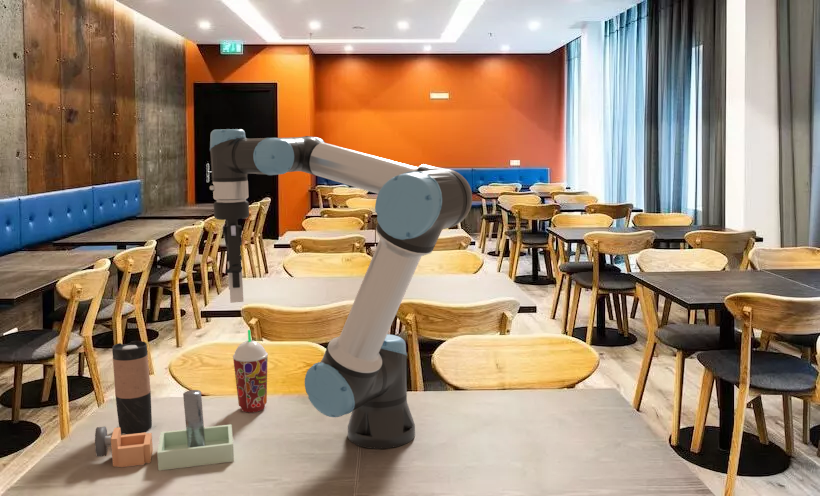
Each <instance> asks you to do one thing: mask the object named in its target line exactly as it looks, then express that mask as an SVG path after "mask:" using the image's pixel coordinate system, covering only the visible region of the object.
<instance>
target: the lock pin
mask: <svg viewBox="0 0 820 496" xmlns="http://www.w3.org/2000/svg"><path fill="white" fill-rule="evenodd" d="M182 397H183V404H184V405H183V406H184V407H183V408H184V415H185V416H184V417H185V419H184V420H185V429H186V432H187V444H188V448H191V447H199V446H205V435H204V425H205V424H204V413H203V401H202V400H203V399H202V391H201V390H198V389H192V390H187V391H185V392H183V396H182Z"/></svg>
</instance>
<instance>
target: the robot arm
mask: <svg viewBox="0 0 820 496" xmlns="http://www.w3.org/2000/svg"><path fill="white" fill-rule="evenodd" d="M209 152H210V153H209V154H210V164H211V165H210V166H211V179H212V184H213V185H210V186H209V190H210V191H212V193H213V194H212V195H213V196H212V198H213V199H214V200H215V201H214V203H213V216H214V219H216V220H219V221H220V220H221V221H224V223H225V226H224V225H223V226H222V231H223V237H224V243H225V246H226V259H227V262H226V264H227V268H226V269H225V274H227V280H228V281H227V282H228V283H227V284H228V290H229V300H230V303H243V302H244V287H243V286H244V284H243V265H242V260H243V258H242V257H243V256H242V253H241V246H242V245H243V244H242V243H243V242H242V235H243V227H242V225H239V224H238V223H239V222H238V221H239V220H244V219H248V217H249V216H250V206H249V205H250V202H248V198H249V197H250V196H249V181H248V175H249V174H250V175H251V174H253V175H255V174H256V175H267V176H277V175H285V174H286V173H292V172H303V173H306V174H309V175H313V176H317V177H320V178H322V179H323V178H324V179H327V180H331V181H333V182H336V183H341V184H344V185H347V186H350V187H354V188H357V189H360V190H363V191H367V192H370V193H374V194H376V195H377V196H376V198H375V204H374V210H375V213H376V216H377V217H376V220H377V224H376V227H375V231H376V233H377V236H378V237H379V240H378V243H377V245H376V247H375V250H374V252H373V255H372V257H371V260H370V262H369V265H368V267H367V269H366V272H365V274H364V276H363V280H362V282H361V284H360V286H359V289H358V291H357V292H356V293H357V294H356V296H355V299H354V301H353V303H352V305H351V309H350V311H349V313H348V315H347V318H346V320H345V323H344V325H343V327H342V330H341V332H340V334H339V336H337V337H334V338H331V340H330V341H329V343H328V345H327V347H326V350H325V352H324V354H323V357H322V359H321V360H320V361H318V362H315V363H314V364H313V365H312V366H311V367H309V368H308V369H307V371H306V373H305V377H304V389H305V390H304V391H305V392H306V395H308V396H307V397H308V400H309V402H310V403H311V405H312V406H313V407H314V408H315V409H316V410H317V411H318V412H319V413H320V414H322V415H324V416H326V417H328V418H329V417H330V418H340V417H343V416H344V415H348V414H351V415H350V417H349V421H348V425H347V438H348V440H349V441H350V442H351V443H352V444H354V445H357V446H358V447H363V448H368V449H381V450H382V449H390V448H391V449H392V448H396V447H400V446H404V445H406V444H408V443H410V442H411V441H413V439H414V438H415V436H416V425H415V424H416V423H415V422H414V418H413V415H412V412H411V409H410V407H409V404H408V399H407V397H408V395H407V393H408V391H407V389H408V388H407V385H408V384H407V381H408V380H407V377H408V376H407V374H408V373H407V355H408V353H407V345H406V341H405V339H403V338H402V337H401V336H398V335H395V334H389V330H390V329H391V326H392V324H393V321H394V320H395V317H396V315H397V313H398V310H399V308H400V306H401V304H402V302H403V299H404V296H405V294H406V292H407V290H408V288H409V285H410V284H411V281H412V278H413V277H414V274H415V271H416V270H417V267H418V266H419V262H420V261H421V258H422V257H423V256H426V255H430V254H431V253H432V252H433V251H434V249H435V247H436V244H437V242H438V240H439V237H440V236H441V233H442V232H443V230H446V229H450V228H453V227H455V226H457V225H459V224H461V223H462V222H463V221H464V220H465V219H466V217H467V216H468V214H469V212H470V211H471V208H472V205H473V192H472V189H471V185H470V183H469V182H468V181H467V179H466V178H465V177H464V176H463V175H462V174H461V173H459V172H458V171H456V170H453V169H449V168H442V167H437V166H432V165H429V164H426V163H425V164H424V163H423V164H421V165H419V166H414V165H410V164H407V163H404V162H403V163H402V162H398V161H394V160H392V159H388V158H384V157H379V156H376V155H373V154H369V153H364V152H361V151H357V150H354V149H349V148H347V147H346V148H345V147H342V146H338V145H335V144H331V143H327V142H325V141H324V140H323V139H322V138H320V137H317V136H309V135H305V136H298V137H297V136H296V137H295V136H293V137H264V138H263V137H262V138H261V137H260V138H258V137H257V138H247V137H246V132H245V130H244V129H242V128H239V129H238V128H235V129H234V128H232V129H230V128H226V129H221V128H220V129H213V130H212V131H211V132H210V141H209Z"/></svg>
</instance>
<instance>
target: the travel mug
mask: <svg viewBox="0 0 820 496" xmlns="http://www.w3.org/2000/svg"><path fill="white" fill-rule="evenodd" d="M111 350H112V351H111V352H112V365H113V380H114V395H115V404H116V411H117V412H116V413H117V420H118V421H117V422H118V427H120V429H121V434H122V435H127V434H136V433H145V432H146V433H147V432H148V431H149V430H150V429H152V426H153V425H152V424H153V423H152V422H153V421H152V420H153V419H152V395H151V394H152V393H151V392H152V391H151V378H150V367H149V355H148V345H147V342H145V341H142V340H131V341H130V342H129V343H124V344H123V343H121V342H118V343H116V344H114V345H112V349H111Z"/></svg>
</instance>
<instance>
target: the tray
mask: <svg viewBox="0 0 820 496" xmlns="http://www.w3.org/2000/svg"><path fill="white" fill-rule="evenodd" d="M159 434H160V435H159V439H158V447H157V454H156V455H157V467H158V471H165V470H166V471H167V470H173V469H183V468H189V467H199V466H207V465H208V466H209V465H216V464H222V463H233V462H235V457H234V456H235V454H234V452H235V451H234V438H233V425H232V424H223V425H222V424H221V425H213V426H205V427H204V435H205V446H199V447H191V448H188V444H187V432H186V428H184V429H175V430H168V431H161V432H159Z"/></svg>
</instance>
